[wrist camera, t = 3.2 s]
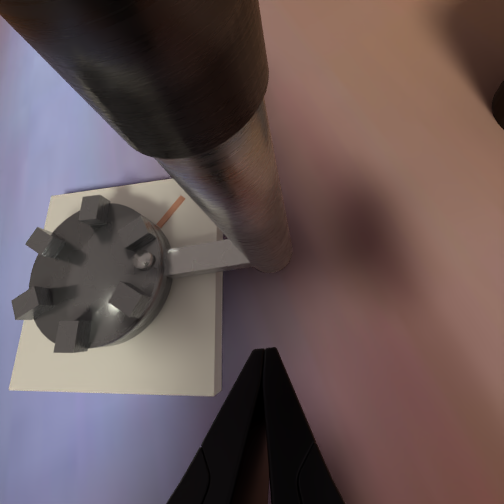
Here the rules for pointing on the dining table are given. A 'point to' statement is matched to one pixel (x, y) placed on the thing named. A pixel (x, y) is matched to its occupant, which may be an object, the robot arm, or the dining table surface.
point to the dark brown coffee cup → (499, 105)
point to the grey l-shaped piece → (155, 156)
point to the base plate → (162, 327)
